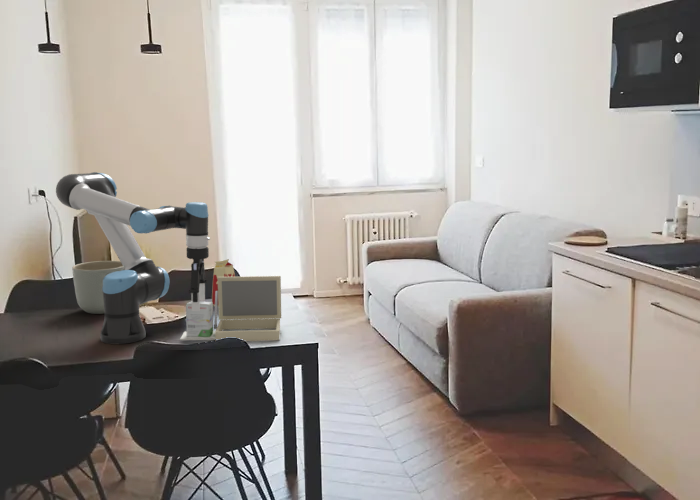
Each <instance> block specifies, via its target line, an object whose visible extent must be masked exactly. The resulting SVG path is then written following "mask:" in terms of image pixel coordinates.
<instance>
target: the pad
mask: <svg viewBox="0 0 700 500" xmlns="http://www.w3.org/2000/svg"><path fill="white" fill-rule="evenodd" d="M215 332H216V330H213V334H212V335H211V336H210V337H199V336H187V331H183V333H182V335H181V337H179V338H180V339H179V341H209V340H210V341H214V340H215V339H216V338H215ZM215 341H216V340H215Z"/></svg>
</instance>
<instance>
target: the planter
mask: <svg viewBox="0 0 700 500" xmlns="http://www.w3.org/2000/svg"><path fill="white" fill-rule="evenodd" d="M121 270H125V268H124V267H123V265H122V263H121V261H120V260H119V261H118V260H97V261H88V262H82V263H77V264H75V265H73V266H72V280H73V285H74V293H75V297H76V302H77V305H78V306H79V308H80V309H81V310H82V311H84V312H85V313H87V314H92V315H105V314H104V300H103V290H102V287H103V279H104V277H105V276H106V275H108V274H110V273H112V272H116V271H121Z"/></svg>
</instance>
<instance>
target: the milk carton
mask: <svg viewBox="0 0 700 500" xmlns="http://www.w3.org/2000/svg"><path fill="white" fill-rule="evenodd" d="M214 263H215V265H214V267H213V275H212V277H213V278H212V288H211V289H212V291H211V292H212V293H211V302H213V307H215V292H216V291H218V277H236V273H235V268H234V265H233V263H231V262H229V258H228V259H227V258H226V259H225V260H221V261H220V260H219V261H217V260H216V261H214ZM217 308H219V306H217Z"/></svg>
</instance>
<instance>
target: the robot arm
mask: <svg viewBox="0 0 700 500" xmlns="http://www.w3.org/2000/svg"><path fill="white" fill-rule="evenodd" d="M117 190H118V188H117V184H116V182H115V180H114V178H112V177H111V176H110V175H108V174H106V173H104V172H96V171H94V172H89V173H88V172H85V173H71V174H70V173H69V174H67V175H65V176H63V177H61V178H60V179H59V181H58V182H57V183H56V186H55V194H56V197H57V199H58V201H59V202H60V203H61V204H63V205H64V206H66V207H68V208H71V209H74V210H76V211H77V210H79V211H81V210H84V211H86V212H87V214H88V215H92V216H94V218H95V220H96V221H97V224H99V227H100V228H101V230H102V232H103V233H104V235H105V237H106V239H107V240H108V243H109V244H110V246H111V247H112V249H113V251H114V252H115V254H116V256H117V258H118V260H119V261H120V262H121V263H122V265H123V267H124V268H125V270H121V271H116V272H112V273H110V274H108V275H106V276H105V277H104V279H103V287H102V290H103V300H104V314H103V315H104V320H103V323H102V327H101V330H100V337H99V338H100V341H101V343H102V342H103V343H104V344H109V345H125V344H129V343H135V342H139V341H142V340H143V339H145V338H146V336H147V335H146V328H145V326H144V323H143V320H142V319H141V318H142V317H141V316H140V305H142V304H146V303H149V302H152V301H156V300H158V299H160V298H162V297H164V296H165V295H166V294H167V293H168V291H169V288H170V282H171V281H170V277H169V274H168V271H167V270H166V269H165V268H163V267H161V266H157V265H156V264H155V262H154V260H153V259H151V258H148V257H146V255H145V252H143V250H142V248H141V246H140V244H139V243H138V242H137V240H136V238H135V236H134V234H133V233H132V231H131V229H132V230H133V231H134V232H135V233H137V234H150V233H153V232H159V231H164V230H171V229H183V230H185V245H186V258H187V259H189V260H193V262H192V263H191V265H190V267H191V269H190V270H191V271H190V272H191V274H190V289H189V290H188V293H189V294H190V295H191V297H190V298H191V303H192V311H200V302H206V283H207V282H208V280H207V279H206V278H207V277H206V272H205V260H206V259H209V256H210V255H209V254H210V253H209V251H210V250H209V249H210V248H209V241H210V240H211V238H210V237H208V236H209V208H208V207H209V206H208V204H207V203H205V202H202V201H201V202H200V201H199V202H198V201H191V202H186V204H185V207H184V206H183V207H182V206H172V205H162V206H161V205H160V207H158V208H152V209H150V208H147V207H143V206H141V205H139V204H135V203H132V202H130V201H126V200H125V199H120V198H119V197H117V193H118V191H117ZM130 227H131V229H130Z"/></svg>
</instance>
